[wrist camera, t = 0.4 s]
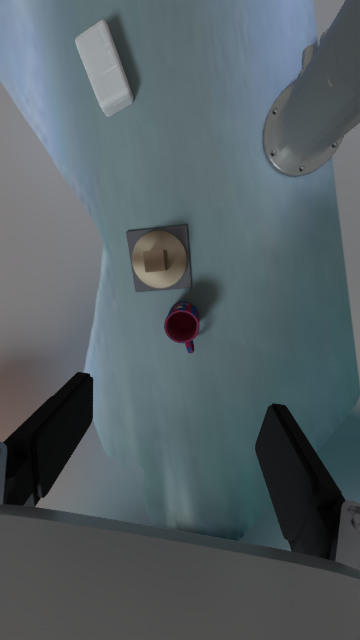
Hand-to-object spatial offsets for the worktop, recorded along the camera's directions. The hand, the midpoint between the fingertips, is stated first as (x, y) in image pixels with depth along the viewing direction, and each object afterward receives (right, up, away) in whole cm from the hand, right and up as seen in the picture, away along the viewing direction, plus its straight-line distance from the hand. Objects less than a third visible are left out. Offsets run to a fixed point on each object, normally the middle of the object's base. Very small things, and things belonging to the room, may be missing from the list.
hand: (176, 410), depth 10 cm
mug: (+1, +4, +34) cm, 34 cm away
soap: (-11, +44, +22) cm, 51 cm away
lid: (-4, +17, +30) cm, 34 cm away
